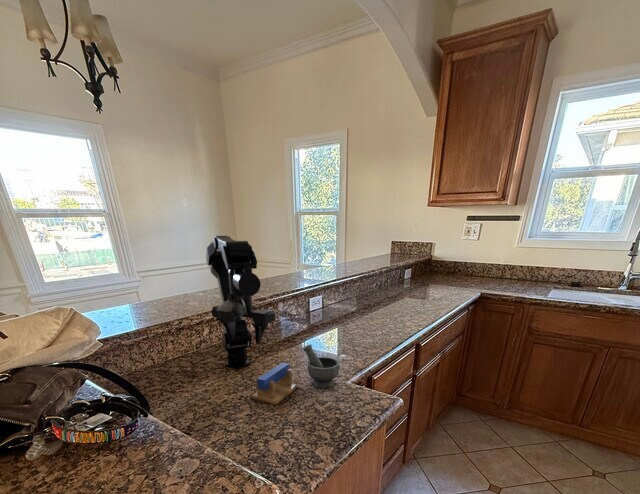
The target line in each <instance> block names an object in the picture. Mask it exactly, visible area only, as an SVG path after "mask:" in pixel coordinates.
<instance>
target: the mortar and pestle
mask: <svg viewBox="0 0 640 494" xmlns="http://www.w3.org/2000/svg"><path fill="white" fill-rule="evenodd" d="M302 350H303V352H304V353H305V354H306V356H307V359H308V360H307V373H308V374H309V377H310V378H311V379H312V380H313V385H314V386H315V387H316V388H322V389H325V388H330V387H332V386H334V379H336V378H337V376H338V375H339V372H340V361H339V360H338V359H336V358H334V357H328V356H318V355H317V354H316V353H315V351H314V349H313V345H312V344H307V345H305V346H304V347H303V348H302Z"/></svg>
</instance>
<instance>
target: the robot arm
mask: <svg viewBox="0 0 640 494" xmlns="http://www.w3.org/2000/svg"><path fill="white" fill-rule="evenodd" d="M205 258H206V264H207V266H209V271H210V273H211V274H212V275H213V276H214V278H215V279H216V280H217V283H218V288H219V293H220V298H221V302H222V303H221V304H217V305H214V306H213V307H212V308H211V309H210V310H211V317H212V318H215V320H216V321H219V323H221V324H222V325H223V326H224V327H223V332H222V337H221V344H222V348H223V349H224V351H225V352H227V354H226V357H227V358H226V359H227V362H226V363H224V365H225V366H226V367H231V368H235V369H242V368H245V367H246V366H248V365H249V364H251V363H252V360H249V359H248V351H247V349H248V348H251V347H252V333H251V330H250V329H248V328H249V327H248V324H247V321H246V319H243V318H247V319H251V321H252V322H253V323H251V325H252V327H253V328H254V335H255V344H256V345H257V346H258V345H260V343H261V341H262V339H263V336H264V334H265V331H266V329H267V327H268V325H269V324H271V323H272V322H274V321H276V314H275V312H274V311H273V310H271V309H265V308H262V309H259V310H257V311H255V310H256V305H253V299H252V297H253V296H255V295H256V294H257V293H258V292H259V291H260V290H261V280H260V278H259V277H258V275H257V274H255V273H254V272H253V270H255V269H258V260H257V257H256V254H255V251H254V249H253V246H252V245H251V244H250V242H249V241H248V240H235V239H233V238H231V236H228V235H215V236H212V242H211V243H210V244H209V245H208V246H207V247H206V252H205Z"/></svg>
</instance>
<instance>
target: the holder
mask: <svg viewBox="0 0 640 494" xmlns="http://www.w3.org/2000/svg"><path fill="white" fill-rule="evenodd" d="M275 367H276V366H274V367H273V368H275ZM258 378H259V377H258ZM258 378H256V379H255V383H256V392H255V393H253V394H252V395H251V399H252V400H256V401H260V402H265V403H269V404H272V405H278V404H279V403H280V402H282V401H283V400H284V399H285V398H286V397H288V396H289V395H290V394H291V393H293V392H294V391H295V390H296V389H298V385H297V384H293V383H292V369H291V368H289V369H288V370H286V376H285V377H283V378H282V379H280V380H279V381H278V382H276V383H275V382H274V381H270V382H269V388H268V389H266V390H261V389H258V384H257V379H258Z"/></svg>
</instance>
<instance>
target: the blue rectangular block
mask: <svg viewBox="0 0 640 494" xmlns="http://www.w3.org/2000/svg"><path fill="white" fill-rule="evenodd" d="M274 367H275V368H274ZM274 367H273V368H272V369H270V370H268V371H267V372H265V373H264V374H263V375H260V376H259V377H258V379H257V378H256V379H257V384H258V389H261V390H266V389H268V388H269V382H270V381H274V382H275V383H276V382H278V381H279V380H280V379H282V378H283V377H285V376H286V370H288V369H290V363H286V362H281V363H279V364H278V365H276V366H274ZM257 384H256V385H257Z"/></svg>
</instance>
